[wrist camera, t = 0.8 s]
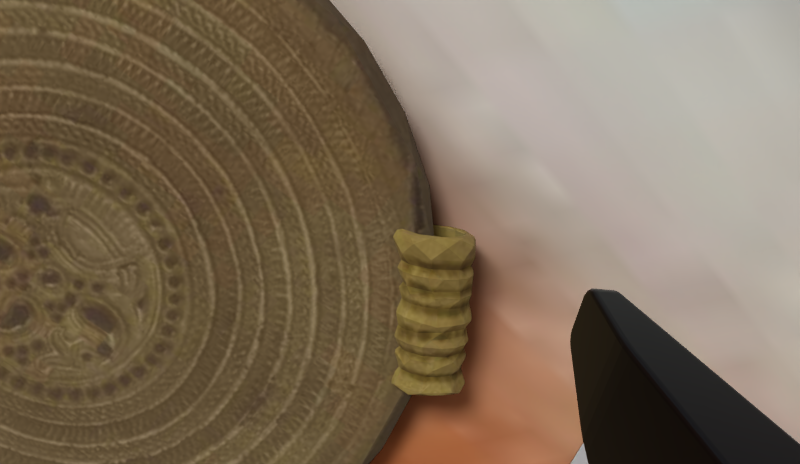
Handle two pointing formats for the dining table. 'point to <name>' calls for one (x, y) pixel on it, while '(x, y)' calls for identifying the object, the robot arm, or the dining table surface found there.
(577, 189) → the dining table surface
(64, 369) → the decorative disc
